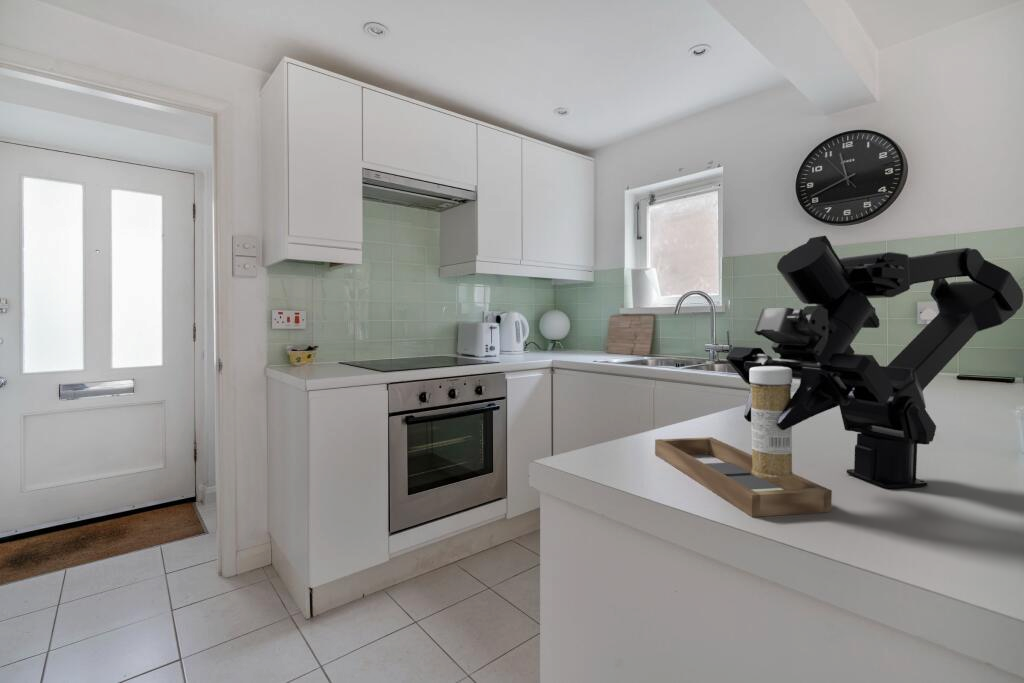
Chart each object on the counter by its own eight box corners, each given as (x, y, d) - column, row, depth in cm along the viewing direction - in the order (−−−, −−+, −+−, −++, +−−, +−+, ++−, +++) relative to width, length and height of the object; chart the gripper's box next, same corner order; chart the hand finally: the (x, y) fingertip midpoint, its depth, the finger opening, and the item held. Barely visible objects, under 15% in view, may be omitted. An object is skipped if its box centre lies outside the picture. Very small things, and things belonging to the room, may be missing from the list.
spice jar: (788, 472, 59) (787, 365, 59) (797, 484, 55) (796, 368, 54) (748, 469, 61) (747, 365, 60) (753, 480, 56) (752, 368, 56)
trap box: (711, 451, 79) (711, 437, 79) (831, 511, 55) (831, 490, 55) (655, 454, 78) (655, 439, 78) (751, 516, 53) (752, 495, 53)
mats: (729, 464, 72) (729, 462, 72) (779, 490, 61) (779, 487, 61) (682, 467, 71) (682, 464, 71) (725, 493, 60) (725, 490, 60)
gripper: (736, 289, 67) (672, 371, 64) (877, 278, 49) (799, 390, 46) (777, 343, 70) (718, 423, 67) (924, 350, 52) (853, 460, 49)
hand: (762, 423), depth 57 cm, fingers closed on spice jar, 4 cm apart
